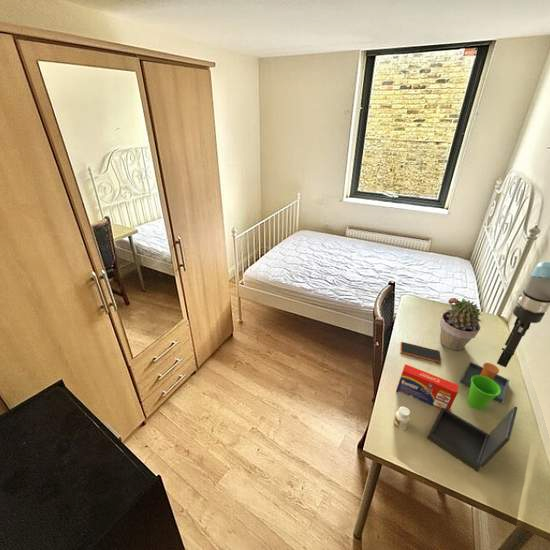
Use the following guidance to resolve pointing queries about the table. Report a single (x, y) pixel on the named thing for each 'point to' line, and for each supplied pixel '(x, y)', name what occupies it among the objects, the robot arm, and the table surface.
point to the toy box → (427, 387)
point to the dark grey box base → (459, 438)
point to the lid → (499, 436)
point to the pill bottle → (402, 418)
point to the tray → (500, 380)
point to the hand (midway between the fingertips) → (505, 355)
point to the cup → (482, 391)
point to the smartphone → (420, 352)
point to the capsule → (489, 370)
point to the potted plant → (459, 324)
